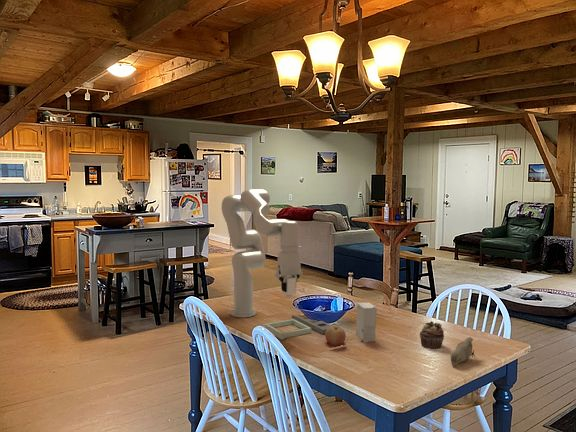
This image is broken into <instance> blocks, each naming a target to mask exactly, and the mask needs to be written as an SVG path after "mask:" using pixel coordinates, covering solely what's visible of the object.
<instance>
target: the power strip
mask: <svg viewBox="0 0 576 432" xmlns="http://www.w3.org/2000/svg"><path fill="white" fill-rule="evenodd" d="M304 314H305V313H299V314H296V315H294V314H292V315H291V317H292V319H294V320H296V321H298V322H300V323H302V324H304V325H306V326H308V327H310V328H311V330H313V331H315V332H317V333H319V334H321V335H325V333H326V330H327V329H328V328H329V327H330V326H332V325H331V324H330V323H327V322H325V321H323V320H321V321H317V320H311V319H309V318H307V317H306V316H305V315H304Z"/></svg>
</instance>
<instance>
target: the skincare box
mask: <svg viewBox="0 0 576 432" xmlns="http://www.w3.org/2000/svg"><path fill="white" fill-rule="evenodd" d="M356 305H357V306H356V324H355V335H356V336H358V337H359V338H360V339H361V342H362V343H367V342H375V341H376V326H377V313H378V312H377V309H378V308H377V307H376V306H375V305H373V304H372V303H370V302H357V304H356Z"/></svg>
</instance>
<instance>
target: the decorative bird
mask: <svg viewBox="0 0 576 432" xmlns="http://www.w3.org/2000/svg"><path fill="white" fill-rule="evenodd" d="M473 341H474V338H472V337H467V338H465V339H464V341H462V342H460V343H458V344H457V346H455V349H454V350H452V352H451V354H450V362H451V365H452V368H456V366H457V365H458V364H459V363H464V362H467V361H468V360H469V358H471V357H472V358H473V356H474V357H476V355H475V349H473V344H472V343H473Z"/></svg>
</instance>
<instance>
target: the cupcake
mask: <svg viewBox="0 0 576 432" xmlns="http://www.w3.org/2000/svg"><path fill="white" fill-rule="evenodd" d="M442 326H443V325H442V324H441V323H440V322H438V323H437V322H435V323H434V321H432V320H431V321H430V322H427V323H425V324H423V327H422V328H421V331H420V332H419V337H420V344H421V347H423V348H424V349H429V350H440V349H441V348H442V346H443V342H444V338H445V334H444V333H445V332H444V330H443V327H442Z"/></svg>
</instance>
